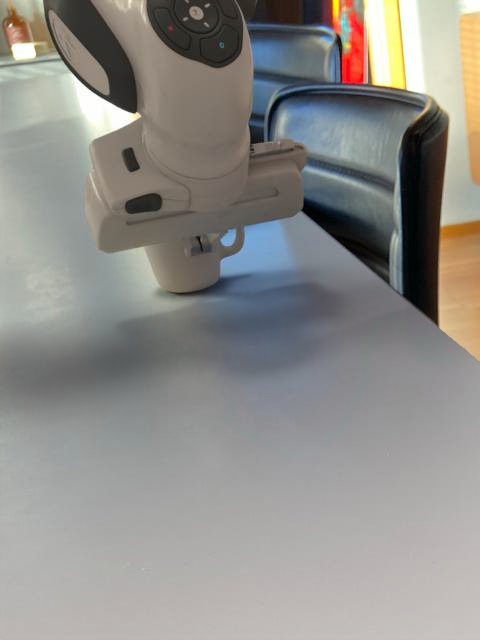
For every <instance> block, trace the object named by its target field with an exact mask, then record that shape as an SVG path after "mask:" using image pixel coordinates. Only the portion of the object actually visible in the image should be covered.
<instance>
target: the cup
mask: <svg viewBox="0 0 480 640" xmlns="http://www.w3.org/2000/svg"><path fill="white" fill-rule="evenodd" d="M234 230H235V238H234V241H233V243H232V244H231V245H228V246H227V245H224V244H223V242H222V240H220V241H219V242H218V243H216V252H211V253H205V254H202V253H201V251H200V255H195V256H191V257H187V258H186V256H185V254H184V250H183V247H181V246H180V245H178V244H177V243H176V242H175V240H174V241H169V242H164V243H159V244H155V245H150V246H145V247H143V248H144V251H145V253H146V257H147V259H148V262H149V265H150V267H151V271H152V273H153V275H154V277H155V280H156V282H157V284H158V285H159V286H160V287H161V288H162V289H163V290H164V291H166V292H171V293H178V294H179V293H181V294H182V293H183V294H184V293H192V292H197V291H201V290H204V289H208V288H211V287H212V286H214V285H215V284H216V283H217V282H218V281H219V279H220V277H221V261H222V260H223V259H225V258H228V257H231V256H234V255H236V254H238V253H239V252H240V251H241V250H242V249H243V248H244V244H245V237H246V235H245V234H246V233H245V227H240V228H235V229H234ZM197 240H198V237H197Z"/></svg>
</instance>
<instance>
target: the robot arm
mask: <svg viewBox="0 0 480 640" xmlns="http://www.w3.org/2000/svg"><path fill="white" fill-rule="evenodd" d="M257 2H258V0H42V5H43V12H44V19H45V24H46V27H47V31H48V33H49V37H50V39H51V41H52V44H53V46H54V48H55V50H56V52H57V54H58V55H59V58H60V59H61V61H62V62H63V63H64V65H65V66H66V68H67V69H68V70H69V71H70V72H71V74H72V75H73V76H74V77H75V78H76V80H78V81H79V82H80V83H81V84H82V85H83V86H84V87H85V88H86V89H88V90H89V91H90V92H92V94H94V95H96V96H97V97H99V98H101V99H102V100H104V101H105V102H108V103H109V104H111V105H113V106H114V107H117V108H118V109H120V110H122V111H124V112H127V113H129V114H133V115H136V114H137V113H138V115H140V117H138V118H137V119H135V120H133V121H132V122H130V123H128V124H126V125H124V126H122V127H119V128H118V129H116V130H113V131H110V132H108V133H107V134H103V135H101V136H98V137H96V138H94V139H93V140H91V141H90V143H89V145H88V152H89V156H90V160H91V165H92V168H91V169H90V170H89V172H88V173H87V175H86V177H85V182H84V193H83V194H84V195H83V196H84V197H83V199H84V200H83V201H84V213H85V219H86V223H87V226H88V228H89V232H90V234H91V238H92V241H93V242H94V244H95V247H96V248H97V250H99V251H100V252H103V253H106V254H115V253H118V252H119V253H120V252H124V251H129V250H134V249H139V248H144V247H145V246H150V245H155V244H159V243H164V242H169V241H174V240H175V242H176V243H177V244H178V245H180V246H181V247H183V250H184V254H185V256H186V258H187V257H191V256H195V255H200V251H201V253H202V254H205V253H211V252H216V243H218V242H219V241H222V239H223V238H224V237H225V236H226V235H227V234H228V233H229V230H235V228H240V227H244V228H245V227H249V226H254V225H258V224H259V225H260V224H264V223H268V222H269V223H270V222H275V221H279V220H284V219H289V218H293V217H296V216H297V215H298V214H299V213H300V212H301V211H302V210H303V208H304V199H305V198H304V196H305V195H304V193H305V192H304V182H303V177H302V175H301V172H302V171H303V170H304V169H305V167H306V165H307V160H308V159H307V158H308V148H307V147H306V145H305V144H304V143H302V142H299V141H294V140H293V139H292V138H281V139H278V140H271V141H266V142H258V143H251V131H250V127H249V122H250V119H251V115H252V112H253V103H254V79H255V78H254V58H253V51H252V43H251V38H250V34H249V30H248V27H247V23H248V22H249V21H250V20H251V19H252V17H253V16H254V13H255V10H256V6H257V4H258V3H257ZM197 237H198V240H197Z"/></svg>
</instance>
